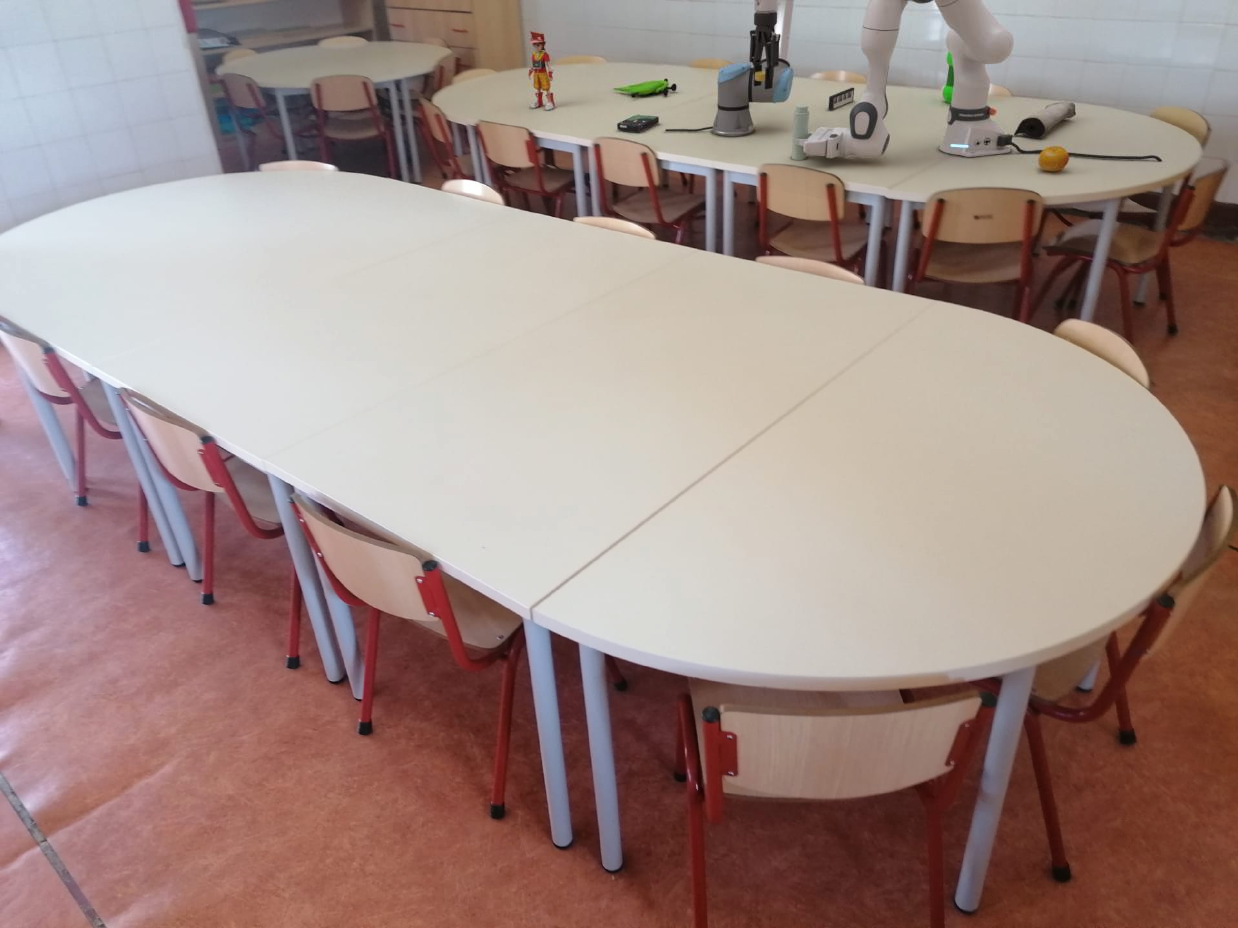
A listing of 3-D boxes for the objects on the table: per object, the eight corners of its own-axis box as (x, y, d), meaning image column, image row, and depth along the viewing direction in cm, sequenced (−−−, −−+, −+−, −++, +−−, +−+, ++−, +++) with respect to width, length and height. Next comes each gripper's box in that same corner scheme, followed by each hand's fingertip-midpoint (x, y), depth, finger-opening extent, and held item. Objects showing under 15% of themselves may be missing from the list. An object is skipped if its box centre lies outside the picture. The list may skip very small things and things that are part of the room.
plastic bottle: (973, 101, 354) (984, 32, 339) (955, 106, 349) (966, 36, 335) (952, 97, 361) (962, 29, 346) (934, 102, 356) (944, 33, 342)
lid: (759, 77, 306) (759, 70, 305) (774, 78, 304) (774, 71, 302) (751, 80, 303) (751, 73, 302) (766, 82, 300) (766, 75, 299)
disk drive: (640, 133, 341) (659, 123, 351) (639, 126, 339) (659, 116, 349) (617, 131, 346) (636, 121, 356) (616, 123, 344) (636, 113, 354)
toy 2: (686, 85, 398) (631, 84, 414) (685, 72, 395) (629, 72, 411) (651, 104, 381) (596, 103, 397) (650, 92, 378) (594, 91, 394)
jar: (809, 158, 304) (812, 106, 295) (797, 161, 302) (800, 108, 293) (800, 155, 308) (803, 103, 298) (788, 157, 306) (791, 106, 296)
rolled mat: (1043, 107, 330) (1067, 89, 322) (1056, 128, 330) (1081, 111, 322) (1009, 129, 312) (1034, 111, 304) (1024, 151, 313) (1049, 134, 305)
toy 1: (525, 109, 381) (517, 32, 364) (534, 104, 388) (527, 28, 371) (550, 110, 377) (543, 32, 360) (559, 105, 384) (553, 28, 367)
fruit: (1033, 161, 277) (1052, 138, 274) (1031, 164, 284) (1049, 141, 281) (1057, 177, 275) (1075, 153, 272) (1054, 179, 283) (1072, 156, 280)
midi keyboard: (831, 110, 354) (832, 97, 351) (828, 110, 355) (829, 96, 352) (853, 101, 364) (854, 88, 361) (850, 100, 365) (851, 87, 362)
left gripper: (739, 10, 297) (737, 84, 310) (774, 16, 283) (770, 93, 297) (757, 7, 300) (755, 81, 313) (793, 13, 286) (788, 90, 299)
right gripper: (846, 123, 302) (806, 121, 308) (831, 140, 287) (789, 137, 293) (845, 142, 306) (805, 140, 311) (829, 160, 291) (788, 156, 296)
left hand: (762, 87), depth 305 cm, fingers closed on lid, 5 cm apart
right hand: (797, 138), depth 302 cm, fingers closed on jar, 5 cm apart
